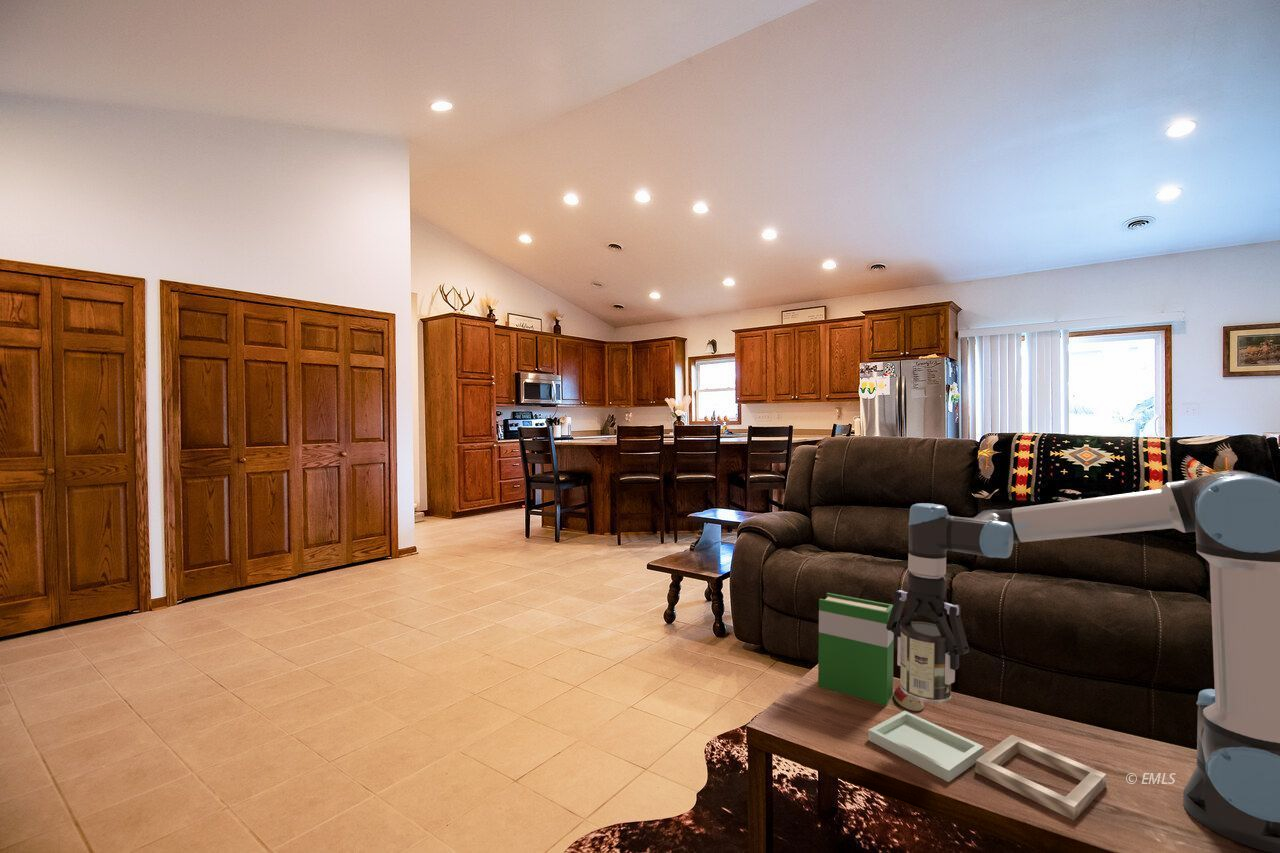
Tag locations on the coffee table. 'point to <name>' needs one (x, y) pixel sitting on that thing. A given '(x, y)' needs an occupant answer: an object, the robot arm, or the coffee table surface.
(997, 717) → the coffee table surface
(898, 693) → the red apple half
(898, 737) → the tray
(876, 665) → the hardback book
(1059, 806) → the wooden collar
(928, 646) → the coffee can
